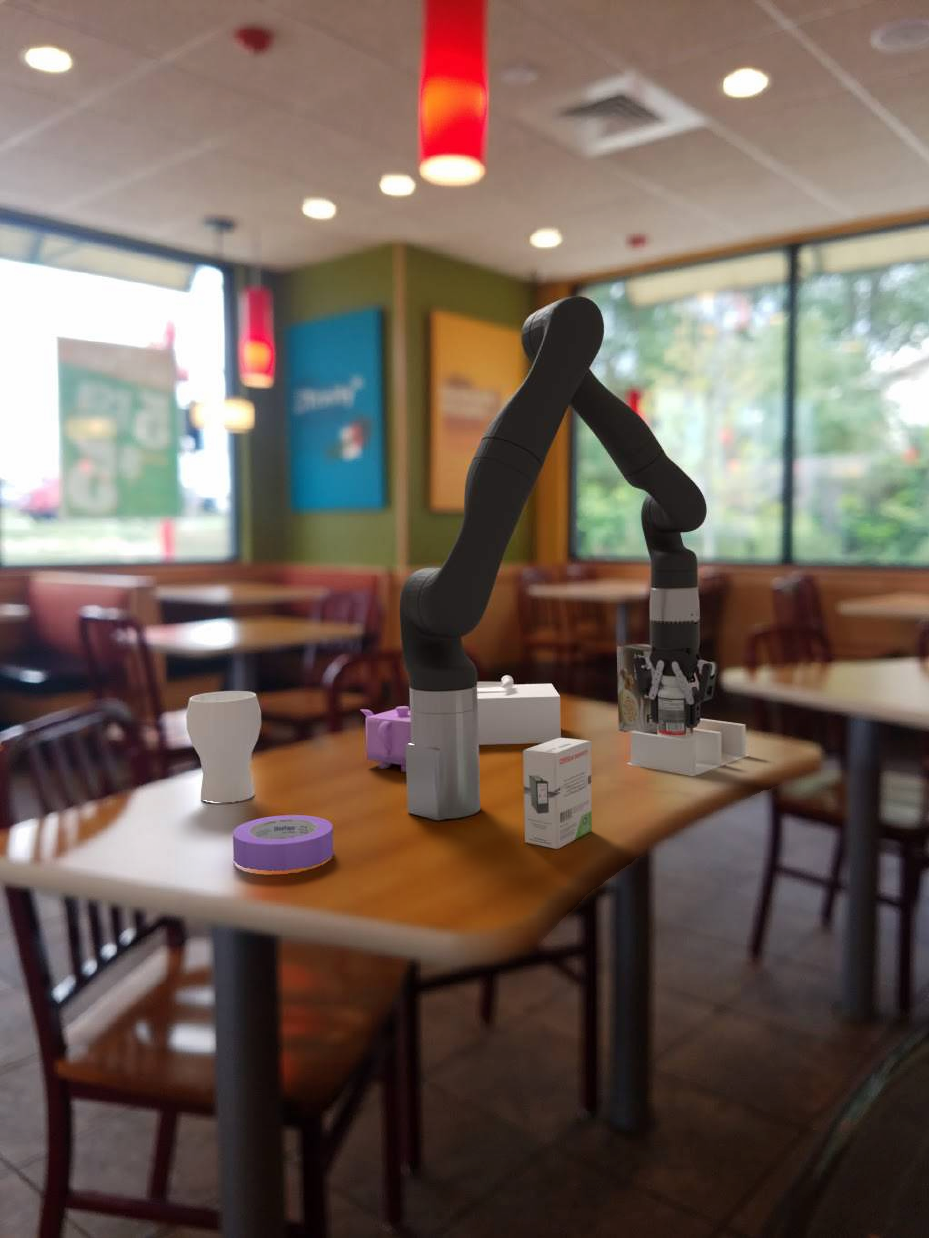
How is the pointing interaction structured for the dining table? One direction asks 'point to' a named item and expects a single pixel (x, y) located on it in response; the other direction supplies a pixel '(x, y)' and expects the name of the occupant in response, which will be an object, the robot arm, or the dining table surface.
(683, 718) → the pill bottle
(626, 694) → the coffee box
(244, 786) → the cup
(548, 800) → the ink box
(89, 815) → the dining table surface
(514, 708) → the tissue box
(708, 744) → the rack
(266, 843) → the masking tape
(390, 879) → the dining table surface
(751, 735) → the dining table surface
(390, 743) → the teapot
